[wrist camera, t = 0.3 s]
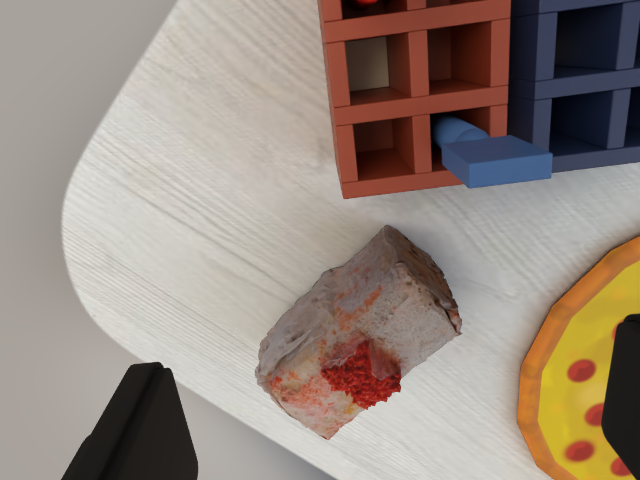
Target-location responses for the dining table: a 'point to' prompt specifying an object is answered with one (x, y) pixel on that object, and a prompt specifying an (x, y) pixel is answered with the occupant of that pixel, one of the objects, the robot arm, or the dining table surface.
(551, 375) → the pizza
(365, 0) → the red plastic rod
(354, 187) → the red caddy
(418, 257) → the food item
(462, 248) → the dining table surface
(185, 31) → the dining table surface
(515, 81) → the blue caddy
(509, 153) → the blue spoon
